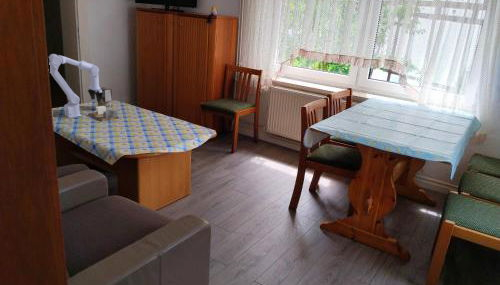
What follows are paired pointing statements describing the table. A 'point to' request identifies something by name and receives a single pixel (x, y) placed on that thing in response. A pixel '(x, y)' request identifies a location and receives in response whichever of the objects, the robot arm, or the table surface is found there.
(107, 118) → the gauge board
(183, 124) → the table surface
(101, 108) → the white rectangular block
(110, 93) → the coffee box
